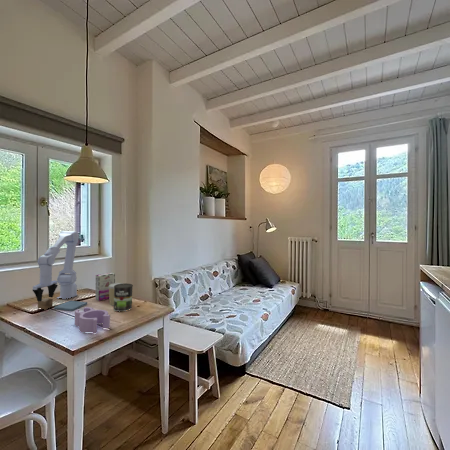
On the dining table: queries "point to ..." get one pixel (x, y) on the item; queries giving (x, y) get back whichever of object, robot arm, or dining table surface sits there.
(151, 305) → the dining table surface
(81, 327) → the clip
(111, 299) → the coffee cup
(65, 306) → the slate board
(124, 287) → the coffee can
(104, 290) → the candy bar box
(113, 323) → the dining table surface
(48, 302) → the walnut cube
